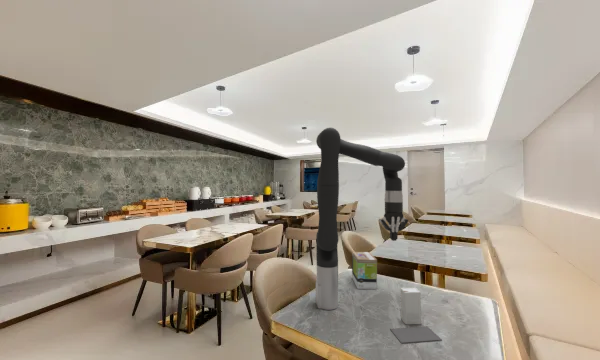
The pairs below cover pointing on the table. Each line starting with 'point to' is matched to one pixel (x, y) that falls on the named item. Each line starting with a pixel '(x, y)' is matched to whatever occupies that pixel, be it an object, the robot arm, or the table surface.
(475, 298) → the table surface
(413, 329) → the mat
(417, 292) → the skincare box
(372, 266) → the tea box
